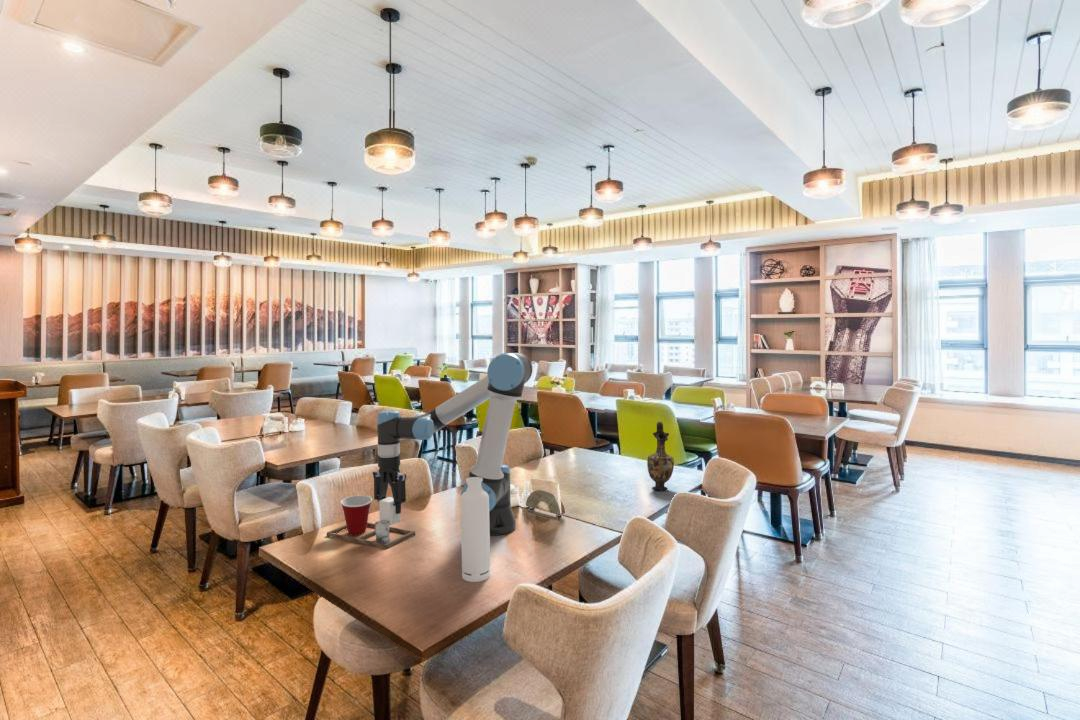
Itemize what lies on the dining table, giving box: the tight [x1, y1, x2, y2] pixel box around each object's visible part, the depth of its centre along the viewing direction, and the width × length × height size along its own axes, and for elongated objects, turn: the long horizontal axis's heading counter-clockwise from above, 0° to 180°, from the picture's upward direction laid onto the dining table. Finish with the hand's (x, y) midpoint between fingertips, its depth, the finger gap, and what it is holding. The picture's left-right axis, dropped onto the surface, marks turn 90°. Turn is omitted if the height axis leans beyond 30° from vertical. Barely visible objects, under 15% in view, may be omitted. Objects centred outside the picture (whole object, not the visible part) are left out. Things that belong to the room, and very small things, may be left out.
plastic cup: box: [340, 495, 373, 536], centre depth 188 cm, size 11×11×12 cm
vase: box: [646, 421, 675, 492], centre depth 237 cm, size 12×12×30 cm
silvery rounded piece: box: [374, 520, 391, 544], centre depth 178 cm, size 4×4×7 cm
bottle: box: [460, 477, 491, 583], centre depth 151 cm, size 8×8×28 cm
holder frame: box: [326, 521, 416, 550], centre depth 185 cm, size 28×14×1 cm, turn 63°
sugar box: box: [378, 496, 402, 526], centre depth 184 cm, size 5×5×8 cm
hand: (390, 521), depth 184 cm, fingers closed on sugar box, 5 cm apart
